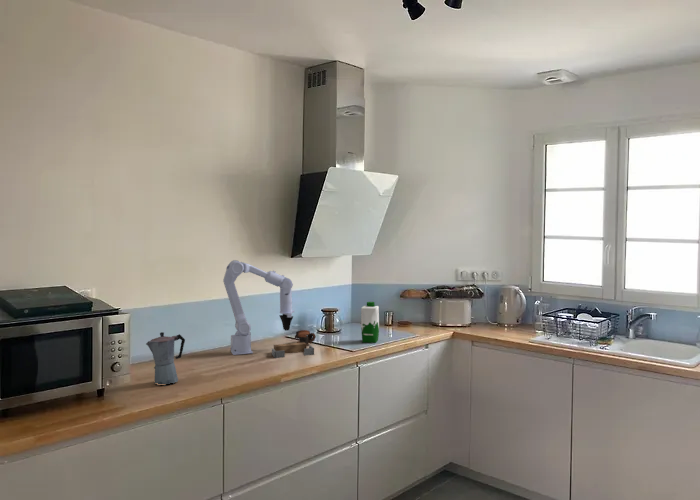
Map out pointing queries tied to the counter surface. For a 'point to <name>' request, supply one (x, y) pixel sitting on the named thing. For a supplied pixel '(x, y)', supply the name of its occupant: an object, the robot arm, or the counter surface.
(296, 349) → the slat
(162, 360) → the moka pot
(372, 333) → the milk carton
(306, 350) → the cap
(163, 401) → the counter surface
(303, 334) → the pottery mug
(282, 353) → the cap
